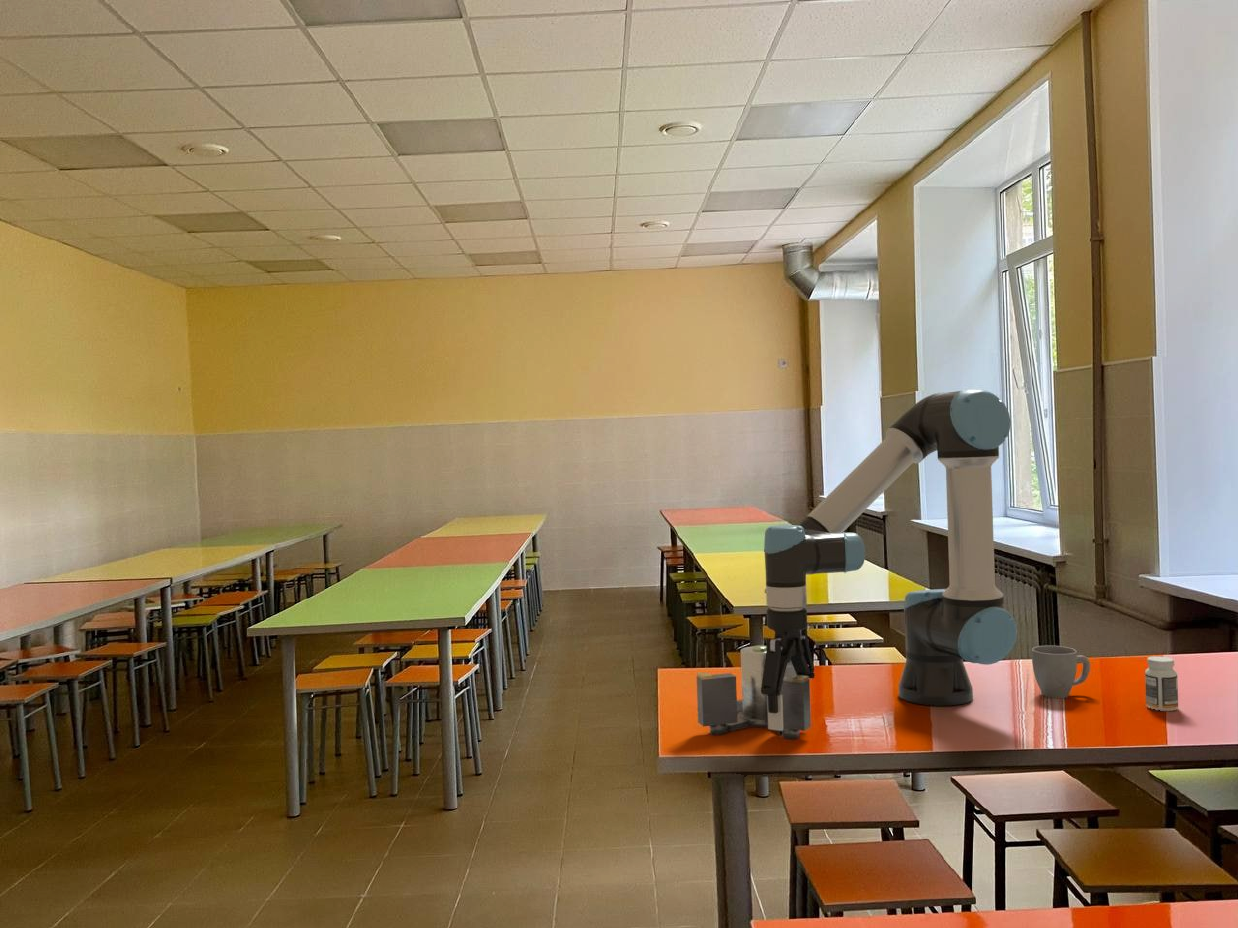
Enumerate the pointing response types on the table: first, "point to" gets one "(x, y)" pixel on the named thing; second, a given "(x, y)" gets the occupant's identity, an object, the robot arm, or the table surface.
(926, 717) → the table surface
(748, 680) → the stand
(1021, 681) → the table surface
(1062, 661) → the mug
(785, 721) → the grey rectangular block
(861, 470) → the robot arm
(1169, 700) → the pill bottle
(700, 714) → the tan-tipped grey block
